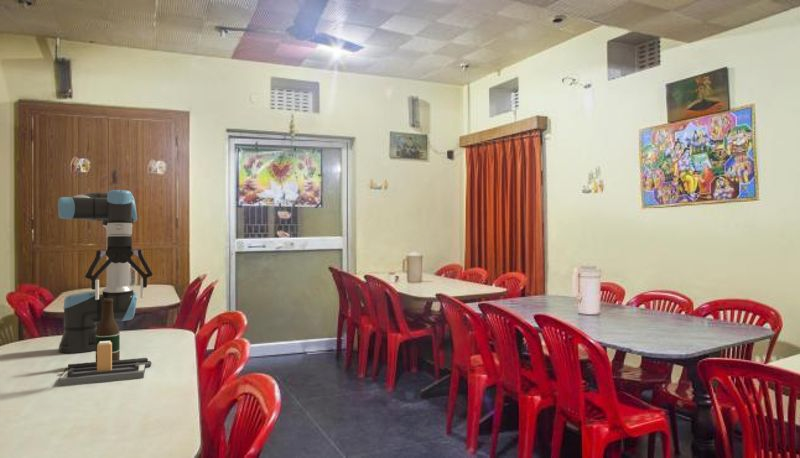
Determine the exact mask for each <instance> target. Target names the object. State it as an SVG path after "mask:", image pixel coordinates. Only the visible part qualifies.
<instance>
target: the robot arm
mask: <svg viewBox="0 0 800 458" xmlns="http://www.w3.org/2000/svg"><path fill="white" fill-rule="evenodd" d="M135 200H136V199H135V197H134V196H133V194H132V192H131V191H130V190H123V189H112V190H108V191H107V192H87V193H86V192H85V193H81V194H77V195H73V196H65V197H64V196H63V197H62V196H61V197H58V201H57V211H58V213H57V214H58V218H59V219H62V220H86V221H91V222H92V221H93V222H100V221H101V223H102V227H103V228H104V229H106V250H100V249H99V250H98V249H97V251H95V252H96V254H95V257H94V259H93V261H92V263H91V265H90V266H89V269H88V270H87V272H86V273H85V275H84V277H85V279H89V280H90V281H91V290H93V291H91V290H90V291H84V292H83V291H82V292H77V293H73V294H69V295H67V296H66V297H64V301H63V308H62V309H63V334H62V337H61V339H60V342H59V345H58V352H59V353H63V354H78V353H79V354H80V353H86V352H92V351H96V329H97V327H98V325H97V323H98V324H99V323H100V322H101V319H102V307H103V302H102V300H103V299H106V298H112V299H113V316H114V320H115V322H124V321H130V320H133V318H134V317H135V314H136V310H137V309H136V308H137V302H138V301H137V299H138V293H137V292H135V291H134V287H132V286H131V285H130V266H131V267H132V268H134V270H135V271H136V272H137V273H138V274H139V275H140V276H141V278H140V283H139V284H140V285H139V286H140V294H139V295H140V297H139V298H140V299H143V298H144V288H147V286H148V279H149V278H150V277H152V276H153V271H152V270H151V268H150V266H149V264H148V262H147V261H146V259H145V257H144V255H143V250H142V249H138V250H137V249H135V250H134V249H133V237H132V235H133V227H134V222H136V221H138V213H137V206H136V201H135ZM133 255H135V256H136V257H138V259H139V261H140V262H141V264H142V266H143V268H144V270H145V272H146V273H145V272H144V270H142V269H141V268H140V266H139V265H138V264H137V263H135V261H134V260H133V259H132V257H133ZM104 256H106V260H105V263H103V264H102V266H101V267H100V268H98V270H97V271H96V272H95V273H94V271H95V269H96V267H97V265H99V262H100V260H101V258H103V257H104ZM104 271H106V286H104V288H103V289H102V293H101V294H100V279H97V278H98V277H100V276H101V274H102V273H103V272H104ZM93 273H94V274H93ZM92 274H93V275H92Z"/></svg>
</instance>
